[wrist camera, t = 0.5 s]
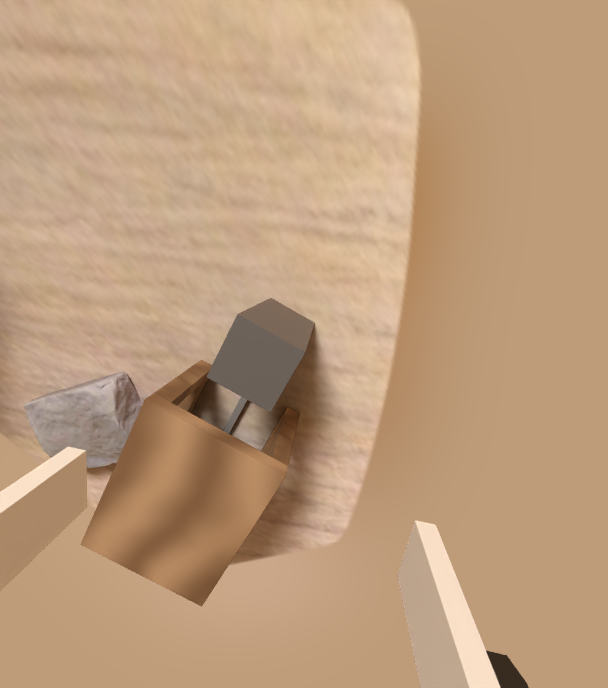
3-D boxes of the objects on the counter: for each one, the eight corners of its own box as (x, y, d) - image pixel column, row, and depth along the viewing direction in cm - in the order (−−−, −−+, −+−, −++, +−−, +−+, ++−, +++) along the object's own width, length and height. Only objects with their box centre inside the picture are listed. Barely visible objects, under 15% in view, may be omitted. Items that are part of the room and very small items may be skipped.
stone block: (171, 430, 37) (125, 361, 33) (151, 460, 33) (95, 386, 29) (93, 450, 39) (41, 388, 36) (64, 481, 35) (2, 415, 31)
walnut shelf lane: (148, 469, 36) (80, 544, 27) (201, 359, 32) (144, 399, 22) (236, 516, 37) (201, 606, 27) (299, 413, 33) (285, 476, 23)
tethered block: (180, 462, 36) (116, 545, 25) (266, 295, 30) (230, 310, 19) (225, 486, 36) (180, 578, 25) (319, 325, 30) (312, 355, 20)
